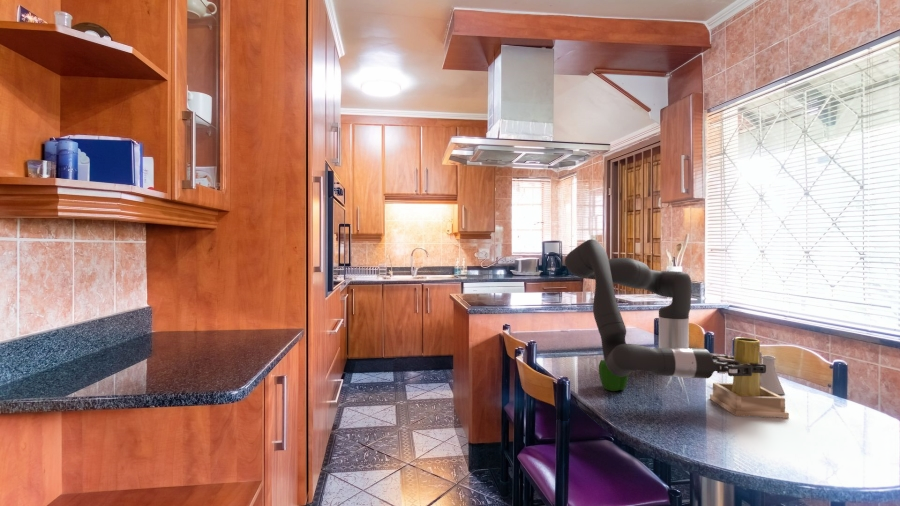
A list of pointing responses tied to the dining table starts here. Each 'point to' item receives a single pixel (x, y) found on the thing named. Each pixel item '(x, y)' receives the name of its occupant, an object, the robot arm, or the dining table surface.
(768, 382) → the flask
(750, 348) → the vase
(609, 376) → the bell pepper
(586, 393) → the dining table surface
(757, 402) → the stand
